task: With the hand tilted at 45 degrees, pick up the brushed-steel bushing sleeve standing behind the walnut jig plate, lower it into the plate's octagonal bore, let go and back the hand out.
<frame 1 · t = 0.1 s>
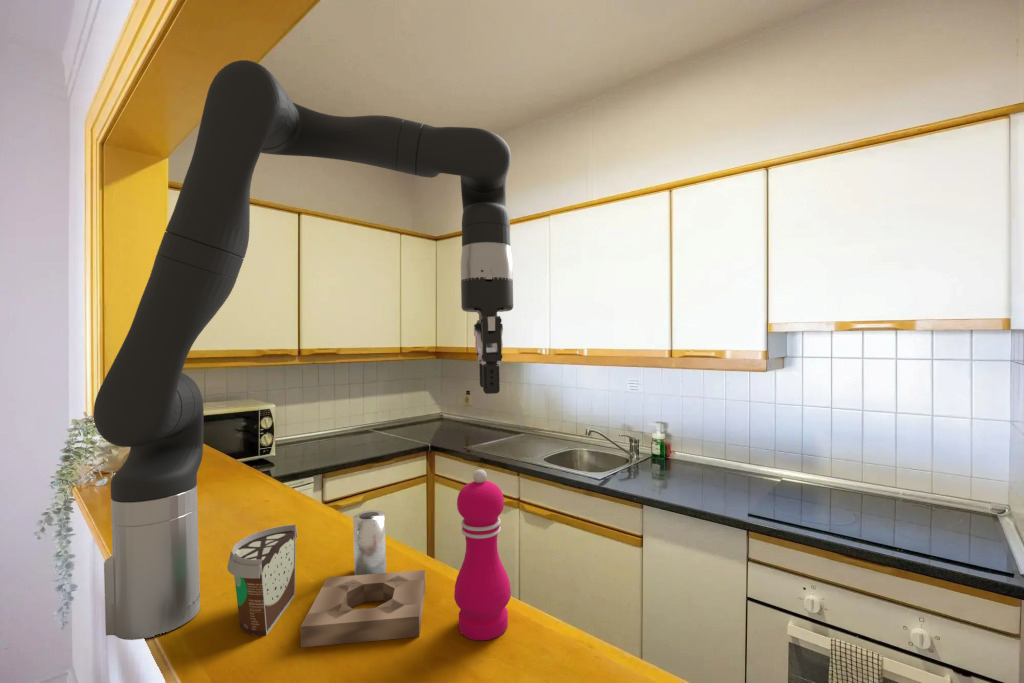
hand: (489, 390, 69), 29 cm above the table, tool pointing down, fingers open, 8 cm apart
bushing: (370, 572, 76), on the table
jig: (369, 613, 64), on the table
food container: (258, 617, 64), on the table
pepper mill: (483, 627, 61), on the table
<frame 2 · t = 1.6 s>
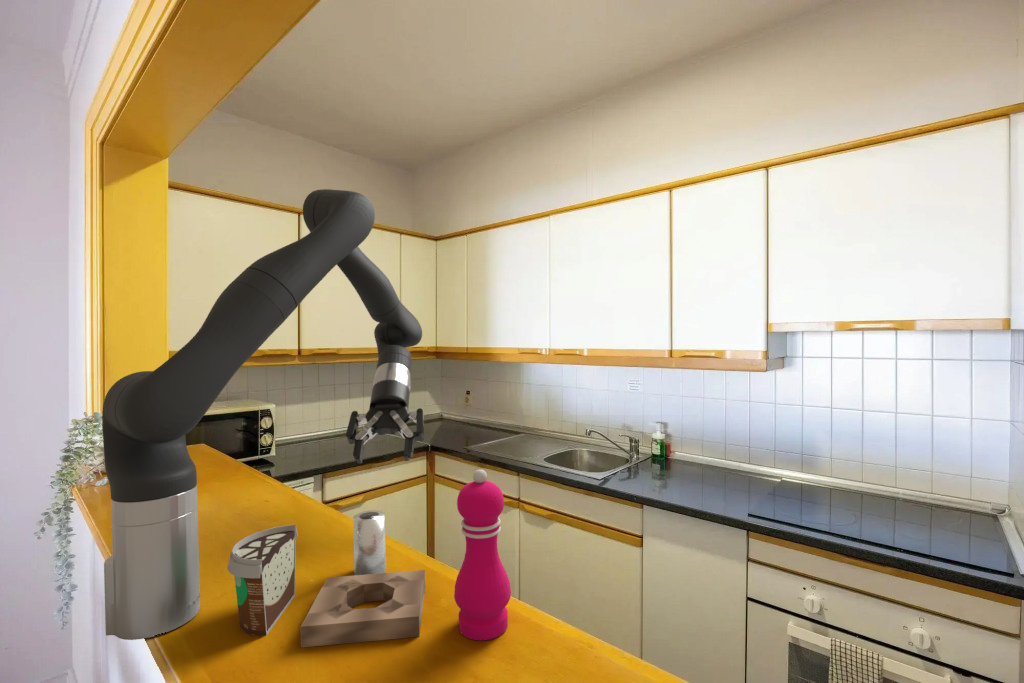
hand: (382, 460, 87), 15 cm above the table, tool tilted 45°, fingers open, 8 cm apart
nothing on the table moved.
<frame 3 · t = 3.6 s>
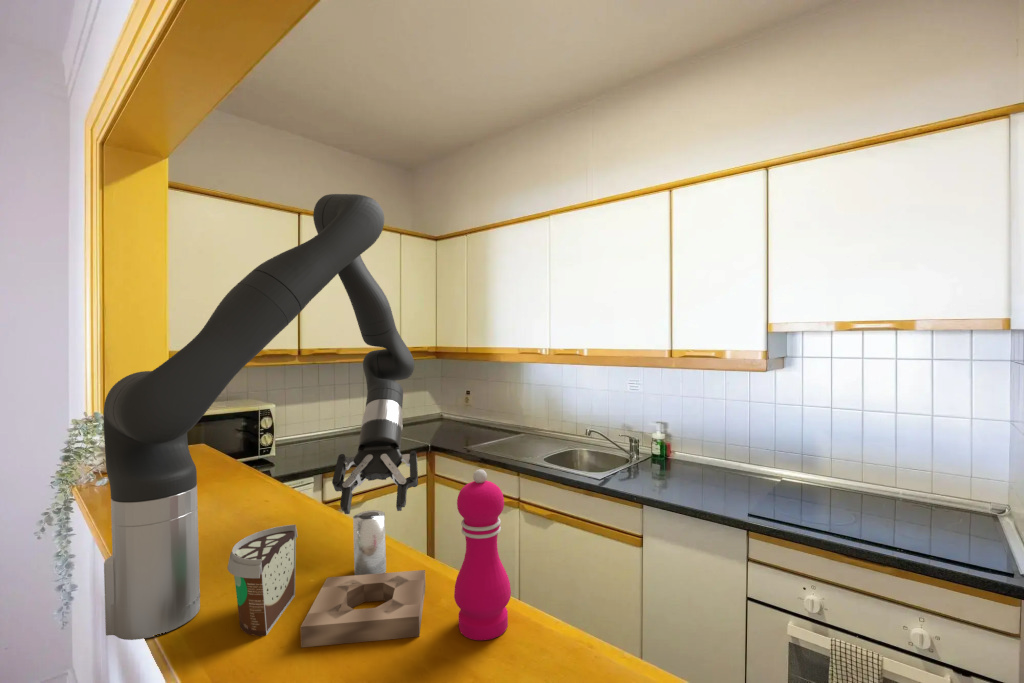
hand: (372, 510, 79), 9 cm above the table, tool tilted 45°, fingers open, 8 cm apart
nothing on the table moved.
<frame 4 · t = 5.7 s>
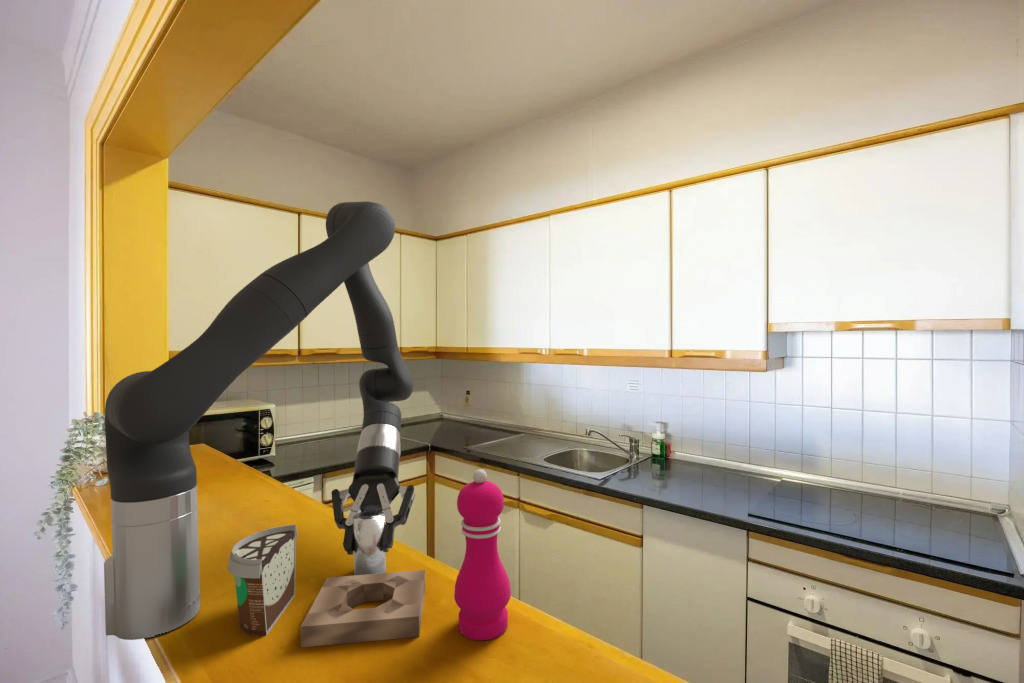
hand: (367, 551, 74), 4 cm above the table, tool tilted 45°, fingers closed on bushing, 4 cm apart
bushing: (370, 572, 76), on the table, touching gripper
everything else where it was.
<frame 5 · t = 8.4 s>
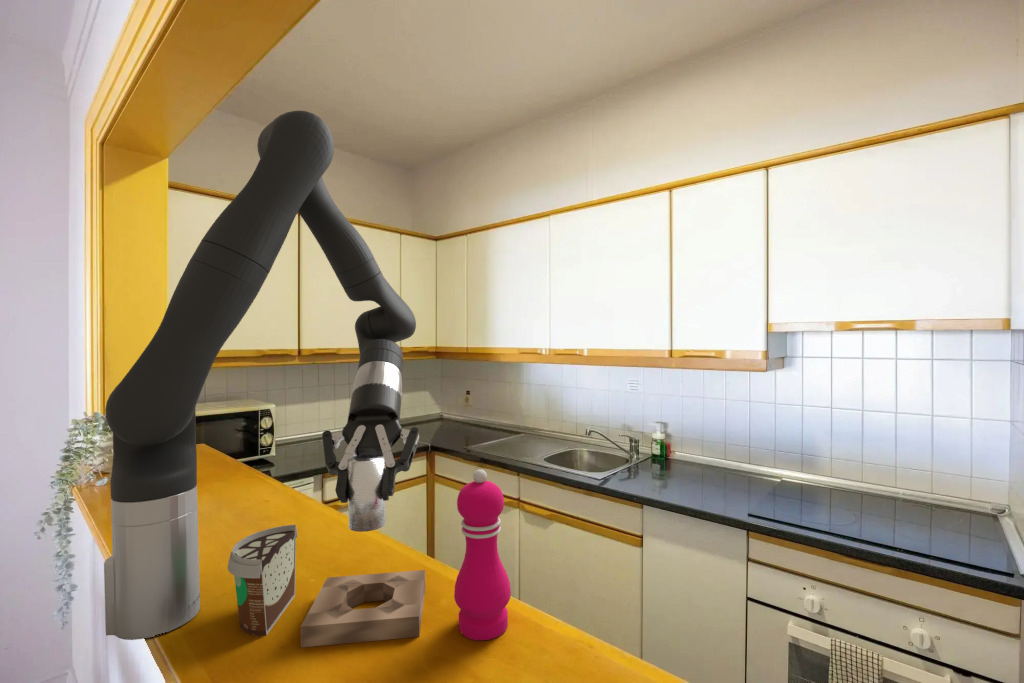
hand: (364, 498, 63), 16 cm above the table, tool tilted 45°, fingers closed on bushing, 4 cm apart
bushing: (367, 524, 65), point 12 cm above the table, touching gripper
everything else where it was.
when the fingers open (6 cm above the table, at t = 11.3 s): bushing drops 2 cm, resting in jig.
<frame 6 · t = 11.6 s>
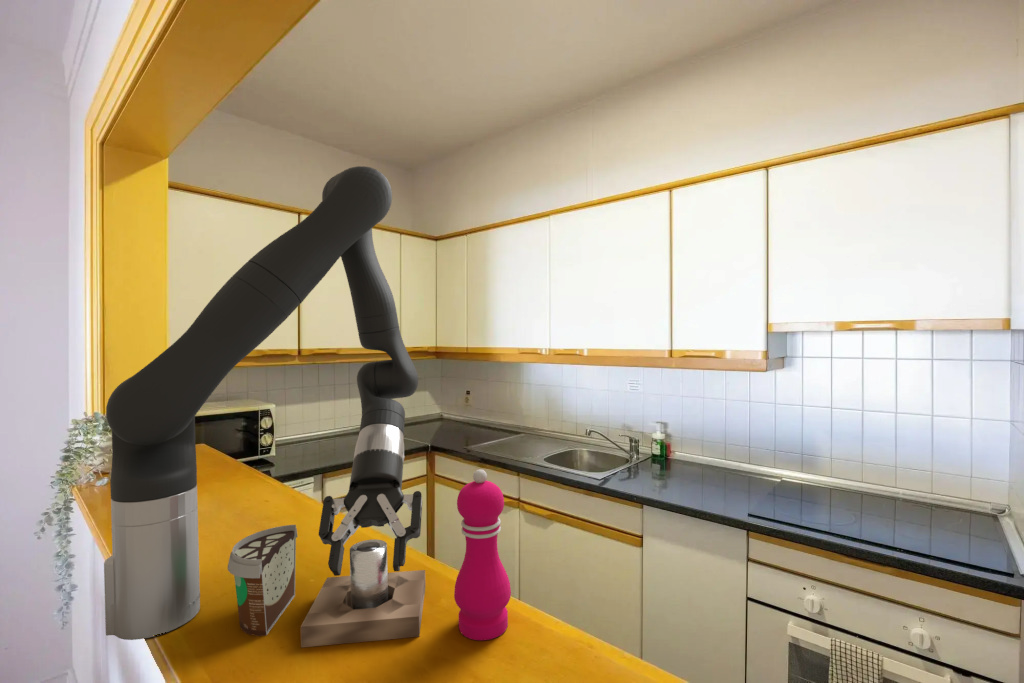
hand: (366, 571, 63), 6 cm above the table, tool tilted 45°, fingers open, 7 cm apart
bushing: (370, 613, 64), resting in jig
everything else where it was.
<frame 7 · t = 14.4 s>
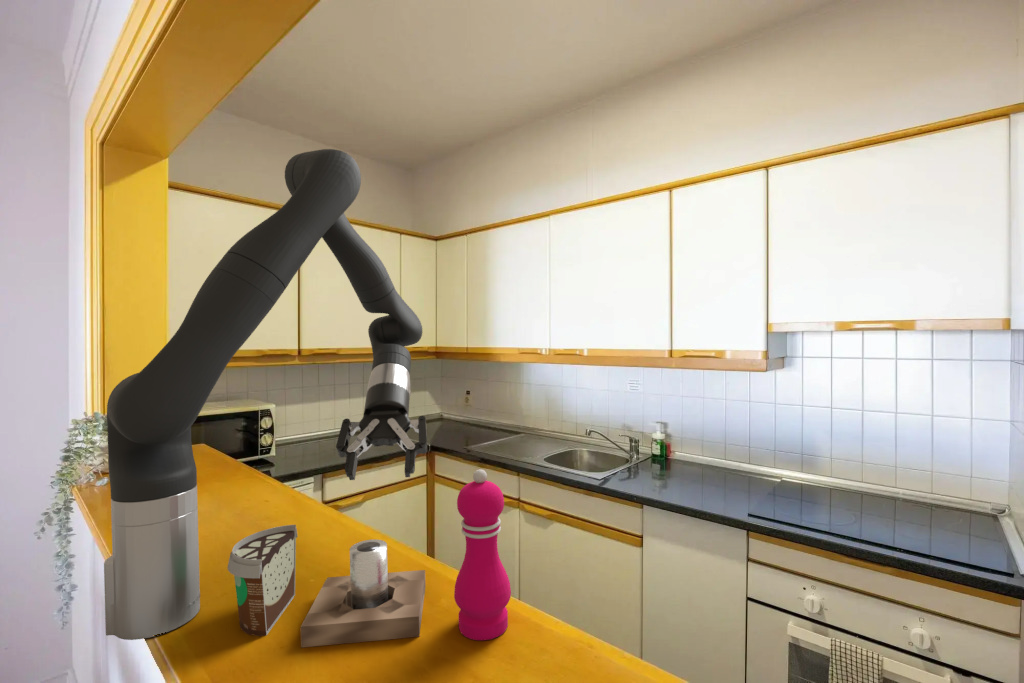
hand: (379, 476, 74), 16 cm above the table, tool tilted 45°, fingers open, 8 cm apart
nothing on the table moved.
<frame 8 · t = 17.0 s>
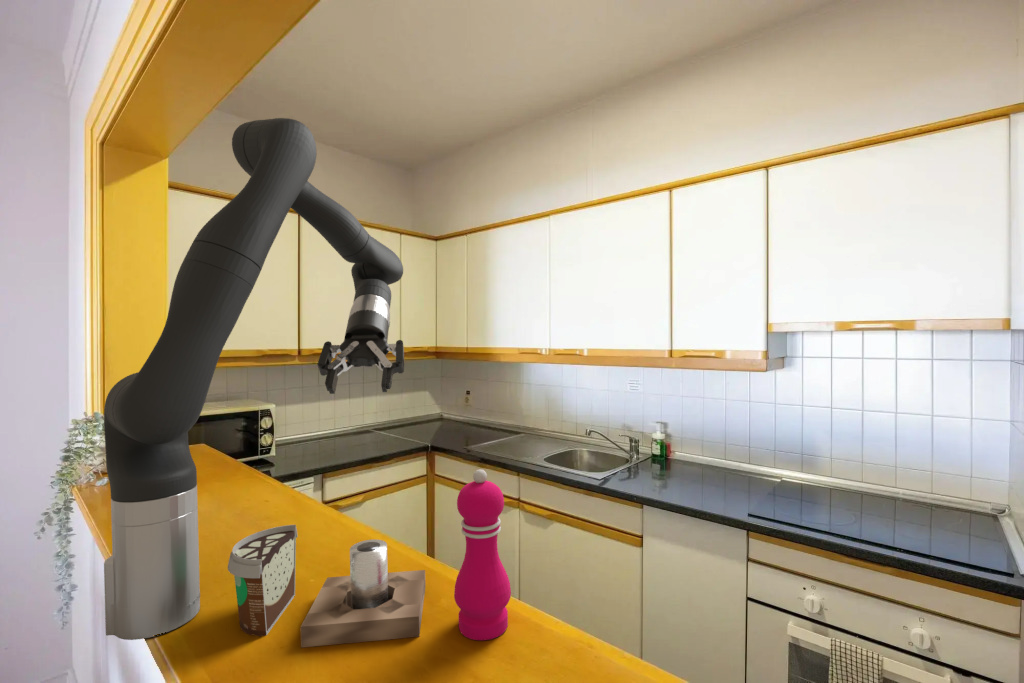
hand: (357, 390, 79), 29 cm above the table, tool tilted 45°, fingers open, 8 cm apart
nothing on the table moved.
at the end: bushing 0.1 cm off-centre on the jig, point 0.0 cm above the jig's base; bushing tilted 0°; the gripper is holding nothing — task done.
